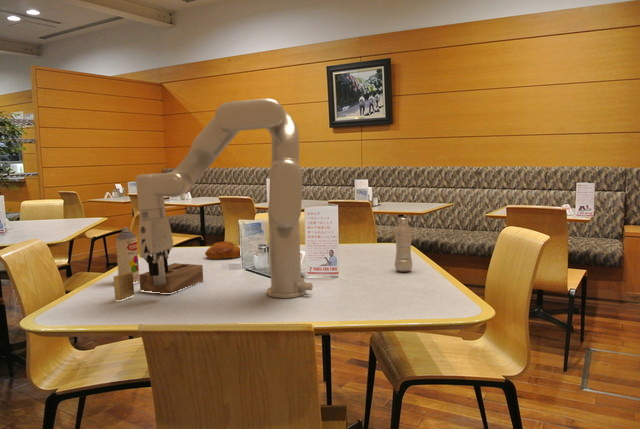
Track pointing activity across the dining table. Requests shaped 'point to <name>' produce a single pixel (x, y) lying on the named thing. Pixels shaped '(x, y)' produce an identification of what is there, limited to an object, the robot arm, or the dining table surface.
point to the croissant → (223, 250)
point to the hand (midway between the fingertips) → (159, 273)
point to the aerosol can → (127, 253)
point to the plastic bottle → (403, 245)
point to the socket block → (173, 278)
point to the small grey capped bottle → (160, 270)
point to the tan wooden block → (123, 286)
